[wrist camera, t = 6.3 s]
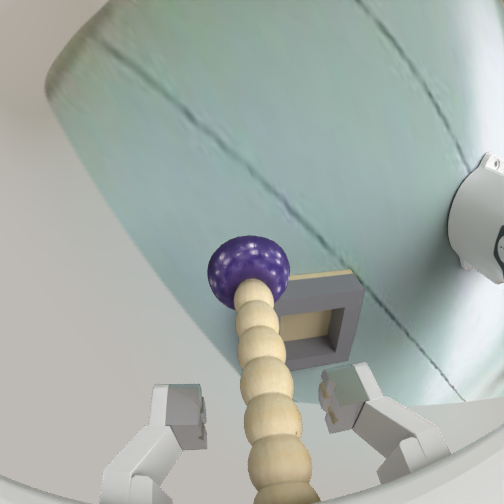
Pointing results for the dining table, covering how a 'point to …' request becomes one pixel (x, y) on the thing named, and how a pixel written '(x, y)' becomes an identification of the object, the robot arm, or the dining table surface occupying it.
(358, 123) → the dining table surface
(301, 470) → the toy lamp
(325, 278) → the socket block
